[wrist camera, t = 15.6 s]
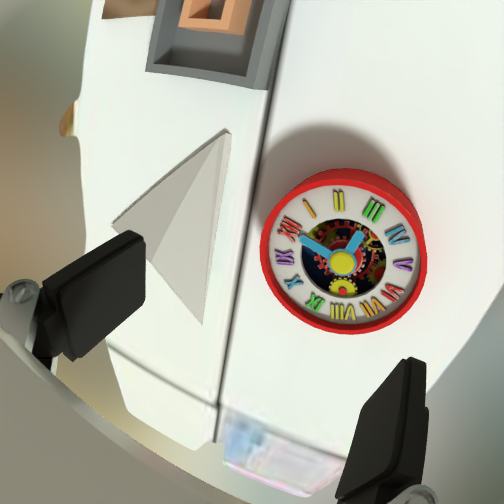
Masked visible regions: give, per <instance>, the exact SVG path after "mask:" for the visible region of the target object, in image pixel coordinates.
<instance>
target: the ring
mask: <svg viewBox="0 0 504 504" xmlns="http://www.w3.org/2000/svg"><path fill="white" fill-rule="evenodd" d="M210 3H211V0H184V4H183V8H182V12H181V16H180V21H179V25H178V27H182V28H186V29H190V30H195V31H205V32H217V33H227V34H236V35H244V31H245V27H246V23H247V19H248V15H249V11H250V7H251V3H252V0H226V1H225V5H224V9H223V13H222V17H221V20H215V19H207V16H208V12H209V7H210Z"/></svg>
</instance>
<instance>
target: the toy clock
mask: <svg viewBox="0 0 504 504" xmlns="http://www.w3.org/2000/svg"><path fill="white" fill-rule="evenodd" d="M260 261H261V266H262V270H263V274H264V276H265V279H266V281H267V284H268V285H269V287H270V289H271V291H272V292H273V294H274V295H275V297H276V298H277V299H278V300H279V302H280V303H281V304H282V305H283V306H284V307H285V308H286V309H287V310H288V311H289V312H290V313H291V314H293V315H294V316H296V317H297V318H299V319H300V320H301V321H303V322H305V323H307V324H309V325H311V326H313V327H315V328H318V329H321V330H324V331H327V332H332V333H337V334H349V335H354V334H365V333H369V332H373V331H377V330H380V329H382V328H384V327H386V326H389V325H391V324H392V323H394V322H395V321H397V320H398V319H400V318H401V317H402V316H403V315H404V314H405V313H406V312H407V311H408V310H409V309H410V308H411V307H412V306H413V304H414V303H415V301H416V300H417V299H418V297H419V295H420V293H421V290H422V288H423V286H424V282H425V278H426V274H427V252H426V246H425V240H424V234H423V229H422V224H421V221H420V219H419V216H418V214H417V211H416V210H415V208H414V207H413V205H412V203H411V202H410V200H409V199H408V198H407V197H406V196H405V195H404V194H403V192H402V191H401V190H400V189H399V188H397V187H396V186H395V185H393V184H392V183H391V182H389V181H388V180H386V179H384V178H382V177H380V176H378V175H376V174H374V173H370V172H367V171H363V170H359V169H349V168H342V169H331V170H328V171H324V172H320V173H317V174H315V175H313V176H311V177H309V178H307V179H306V180H304V181H303V182H302V183H300V184H299V185H298V186H297V187H295V188H294V189H293V190H292V191H291V192H290V193H288V194H287V195H286V196H285V197H284V198H283V199H282V200H281V201H280V202H279V203H278V204H277V205H276V206H275V208H274V209H273V210H272V211H271V213H270V215H269V217H268V218H267V220H266V222H265V225H264V228H263V231H262V234H261V240H260Z"/></svg>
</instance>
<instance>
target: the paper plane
mask: <svg viewBox="0 0 504 504" xmlns="http://www.w3.org/2000/svg"><path fill="white" fill-rule="evenodd" d="M231 136H232V134H228V133H225V134H223V135H222V136H220V137H219V138H217V139H216V140H215V141H213V142H212V143H210V144H209V145H208V146H206V147H205V148H204V149H203V150H201V151H200V152H199V153H197V154H196V155H195V156H193V157H192V158H191V159H190V160H188V161H187V162H186V163H184V164H183V165H182V166H181V167H179V168H178V169H177V170H176V171H174V172H173V173H172V174H171V175H169V176H168V177H167V178H166V179H165V180H163V181H162V182H161V183H160V184H159V185H157V186H156V187H155V188H154V189H153V190H151V191H150V192H149V193H148V194H147V195H146V196H144V197H143V198H142V199H141V200H140V201H139V202H137V203H136V204H135V205H134V206H133V207H132V208H131V209H129V210H128V211H127V212H126V213H125V214H124V215H123V216H122V217H121V218H119V219H118V220H117V221H116V222H115V223H114V224H113V225H112V226H111V227H112V228H113V229H114V230H115V231H116V232H118V233H119V234H121V233H123V232H124V231H126V230H132V231H134V232H136V233H138V234H140V235H142V236H143V238H144V241H145V243H146V259H147V260H148V261H149V262H150V263H151V264H152V265H153V267H154V268H155V269H156V270H157V272H158V273H159V274H160V275H161V277H162V278H163V279H164V280H165V282H166V283H167V284H168V285H169V287H170V288H171V289H172V290H173V291H174V293H175V294H176V295H177V296H178V297H179V299H180V300H181V301H182V302H183V303H184V305H185V306H186V307H187V308H188V309H189V310H190V312H191V313H192V314H193V315H194V316H195V318H196V319H197V320H198V321H199V322H200V323H201V324H203V317H204V310H205V303H206V296H207V289H208V282H209V275H210V269H211V262H212V256H213V249H214V243H215V237H216V231H217V224H218V218H219V212H220V207H221V201H222V195H223V189H224V183H225V178H226V172H227V167H228V161H229V156H230V150H231Z"/></svg>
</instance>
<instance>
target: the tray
mask: <svg viewBox="0 0 504 504" xmlns="http://www.w3.org/2000/svg"><path fill="white" fill-rule="evenodd" d="M225 1H226V0H211V3H210V7H209V12H208V16H207V19H215V20H221V17H222V13H223V9H224V5H225ZM183 4H184V0H159V4H158V8H157V12H156V17H155V21H154V26H153V31H152V36H151V41H150V46H149V52H148V57H147V63H146V69H145V72H153V73H162V74H170V75H178V76H185V77H192V78H198V79H204V80H210V81H216V82H221V83H226V84H231V85H236V86H241V87H246V88H250V89H258V90H269V86H270V82H271V77H272V73H273V69H274V65H275V61H276V56H277V52H278V48H279V44H280V40H281V36H282V32H283V28H284V24H285V20H286V16H287V12H288V8H289V4H290V0H252V3H251V7H250V11H249V15H248V19H247V23H246V27H245V31H244V35H236V34H227V33H217V32H205V31H195V30H190V29H186V28H182V27H178V25H179V21H180V16H181V12H182V8H183Z"/></svg>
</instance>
